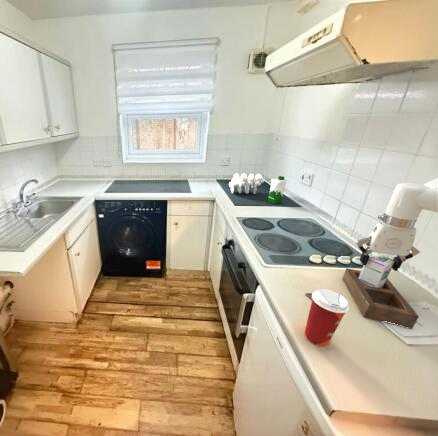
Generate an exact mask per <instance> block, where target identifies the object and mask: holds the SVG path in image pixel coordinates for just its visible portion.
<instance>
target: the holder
mask: <svg viewBox="0 0 438 436" xmlns="http://www.w3.org/2000/svg"><path fill="white" fill-rule="evenodd" d="M361 271H362V270H358V269H352V268H345V272H344V273H343V276H342V281H343V283H344V284H345V286H346V288H347V290H348V292H349V294H350V295H351V297H352V299H353V301H354V302H355V304H356V306H357V308H358V310H359V311H360V313H361V315H362V318H365V319H369V320H374V321H376V322H377V321H378V322H382V321H387V322H391V323H395V324H398V325H402V326H404V327H403V328H406V327H408V329H411V330H412V329H413V328H414V326H415V325H416V323H417V321H418V319H419V318H420V316H419V314H418V313H417V312H416V311H415V309H414V308H413V307H412V306H411V305H410V304H409V302H408V301H407V300H406V298H405V297H404V296H403V295H402V294H401V293H400V291H398V289H397V288H396V287H395V286H394V285H393V283H392V282H391V281H390V280H389V278H387V280H386V282H385V284H384V286H383V289H382V288H377V287H372V286H367V285H362V284H361V282H360V280H359V279H358V278H359V276H360V273H361ZM382 323H383V322H382ZM398 325H397V326H398ZM402 326H401V327H402Z"/></svg>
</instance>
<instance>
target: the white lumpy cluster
mask: <svg viewBox="0 0 438 436" xmlns="http://www.w3.org/2000/svg"><path fill="white" fill-rule="evenodd" d="M263 183H265V179H264V176H263V175H262V173H257V174H256V175H255V174H254V173H250V174H249V175H248V174H247V173H245V172H243V173H242V174H240V173H236V172H235V174H233V176H232V178H231V179H230V181H229V183H228V187H229V188H230V192H231V194H234V191H235V188H236V187H237V192H238V195H239V194H242V188H243V187H244V192H245V194H246V195H248V194H249V193H250V192H249V191H250V187H251V192H252V194H253V195H255V194H257V190H258V189H257V187H260V186H261V185H262V184H263Z"/></svg>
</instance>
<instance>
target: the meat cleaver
mask: <svg viewBox="0 0 438 436" xmlns="http://www.w3.org/2000/svg"><path fill="white" fill-rule="evenodd" d="M313 293H314V292H305V293H304V294H305V296H306V297H308V298H309V299H310V300H312V294H313Z"/></svg>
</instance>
